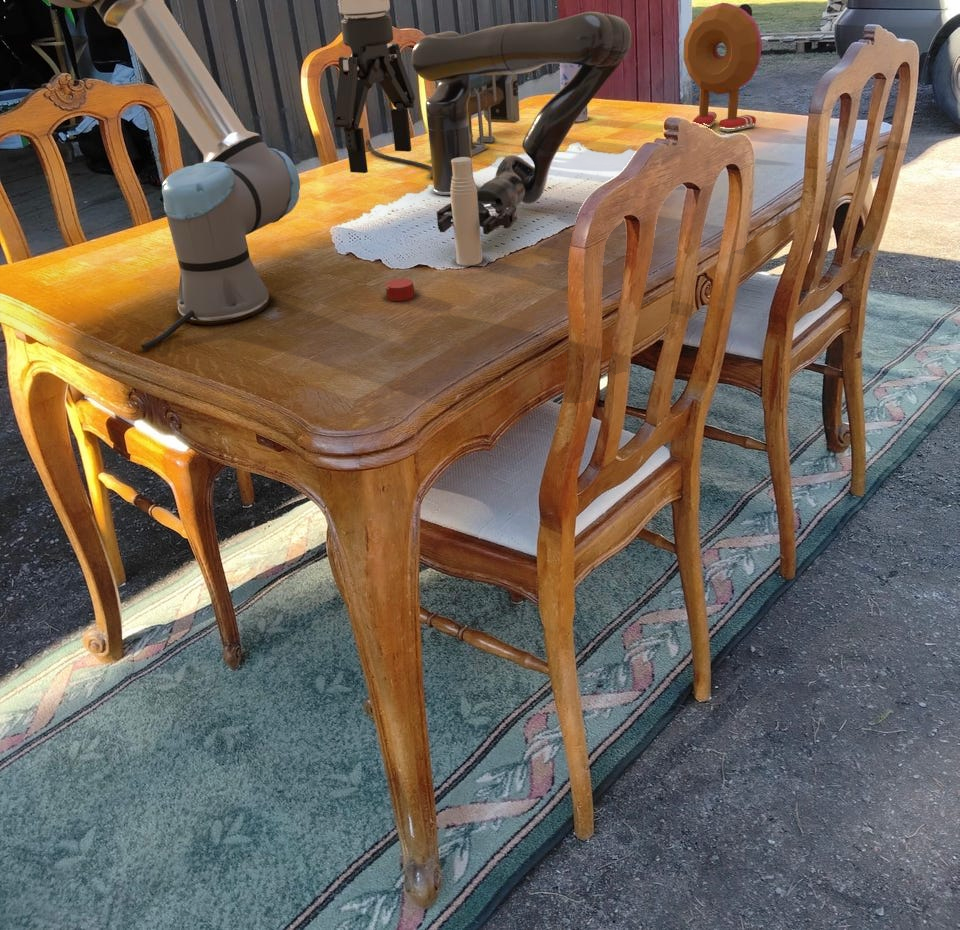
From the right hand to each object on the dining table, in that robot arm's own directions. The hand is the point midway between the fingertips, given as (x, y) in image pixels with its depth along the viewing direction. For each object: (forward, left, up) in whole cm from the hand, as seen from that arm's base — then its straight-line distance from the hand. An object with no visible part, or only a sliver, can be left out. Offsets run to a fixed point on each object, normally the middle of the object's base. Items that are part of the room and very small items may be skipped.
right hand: (462, 227), depth 173 cm
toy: (-89, +74, -7) cm, 116 cm away
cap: (+13, -12, -5) cm, 19 cm away
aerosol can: (-116, +39, -7) cm, 123 cm away
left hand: (+13, -12, +16) cm, 24 cm away
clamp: (-94, +9, -7) cm, 94 cm away
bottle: (-2, +1, -7) cm, 7 cm away
